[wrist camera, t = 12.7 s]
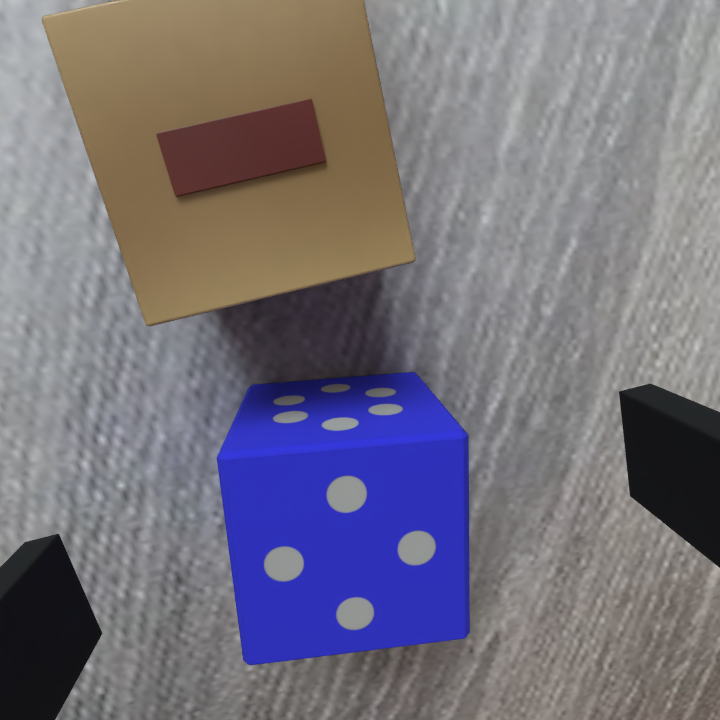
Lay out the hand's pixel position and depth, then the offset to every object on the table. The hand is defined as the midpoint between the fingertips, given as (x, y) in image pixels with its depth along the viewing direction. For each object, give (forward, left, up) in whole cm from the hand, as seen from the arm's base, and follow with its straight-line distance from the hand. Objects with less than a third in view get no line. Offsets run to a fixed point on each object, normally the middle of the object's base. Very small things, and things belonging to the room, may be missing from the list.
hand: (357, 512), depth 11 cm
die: (0, 0, -4) cm, 4 cm away
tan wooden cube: (-8, 0, -4) cm, 9 cm away
